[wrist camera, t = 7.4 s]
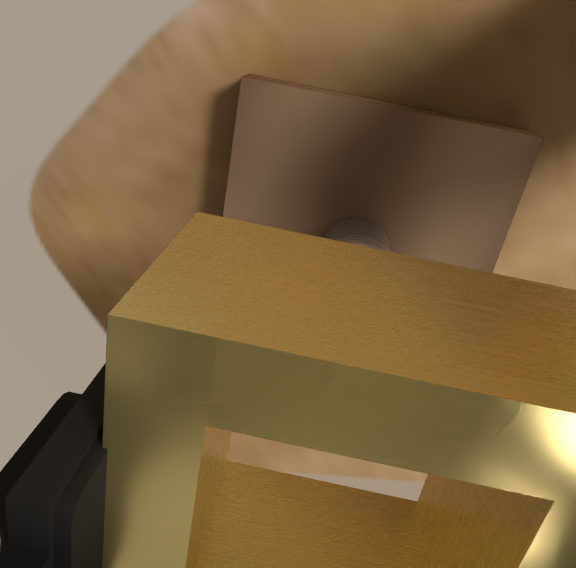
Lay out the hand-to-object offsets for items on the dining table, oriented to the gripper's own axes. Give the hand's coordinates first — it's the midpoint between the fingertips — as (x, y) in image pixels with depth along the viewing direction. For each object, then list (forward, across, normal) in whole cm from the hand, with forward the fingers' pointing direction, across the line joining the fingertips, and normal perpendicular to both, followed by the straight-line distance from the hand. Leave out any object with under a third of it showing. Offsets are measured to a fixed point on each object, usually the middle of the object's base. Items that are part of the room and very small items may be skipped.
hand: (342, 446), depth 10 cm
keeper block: (+12, 0, 0) cm, 12 cm away
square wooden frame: (+1, 0, 0) cm, 1 cm away
